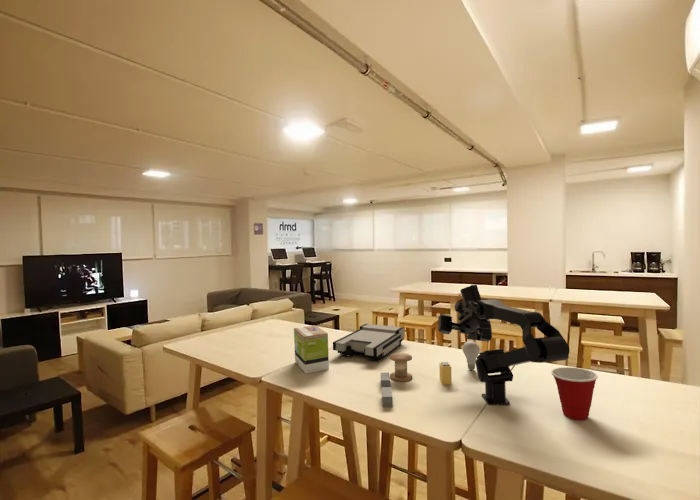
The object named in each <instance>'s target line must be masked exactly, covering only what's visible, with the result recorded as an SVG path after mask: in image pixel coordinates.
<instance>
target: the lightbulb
mask: <svg viewBox="0 0 700 500" xmlns="http://www.w3.org/2000/svg"><path fill="white" fill-rule="evenodd" d="M480 350H481V349H480V346H479V344H478V343H477V342H475V341H474V340H468V341H465V342H464V343H463V345H462V352H463V354H464V356H465V359H466V363H467V369H468V370H470V371H474V370H475V369H476V360H477V356H478V355H480V354H479V352H481V351H480Z"/></svg>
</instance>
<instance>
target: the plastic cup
mask: <svg viewBox="0 0 700 500" xmlns="http://www.w3.org/2000/svg"><path fill="white" fill-rule="evenodd" d="M550 372H551V375H552V376H553V378H554V381H555V384H556V386H557V387H556V388H557V393H558V397H559V401H560V405H561V409H562V413H563V415H564V416H565V417H567V418H569V419H571V420H575V421H586V420H588V419H589V415H590V411H591V407H592V402H593V396H594V390H595V386H596V381H597V379H598V377H599V376H598V374H597V373H596V372H594V371H592V370H589V369H585V368H580V367H569V366H568V367H564V366H563V367H556V368H553V369H551V371H550Z"/></svg>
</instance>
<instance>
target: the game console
mask: <svg viewBox="0 0 700 500" xmlns="http://www.w3.org/2000/svg"><path fill="white" fill-rule="evenodd" d="M404 338H405V327H403V326H400V327H399V326H392V325H391V326H390V325H383V324H382V325H380V324H373V323H372V324H371V323H365V324H362V325H360V326H359V329H357V330H356V331H353V332H351V333H349V334H347V335H344V336H343V337H340V338H339V339H337V340H334V341H333V342H332V351H337V353H338V354H340V355H341V354H343V355H342V356H346V355H349V356H348V357H354V356H356V355H357V354H359V353H363V354H364V358H369V359H368V360H372V359H374V360H373V361H378V360H381V359H382V360H383V359H385V358H386V357H387V356H389V355H390V354H392V353H393V352H394V351H395V350H396V349H398V348H399V347H400V346H402V342H403V339H404ZM398 346H399V347H398ZM397 347H398V348H397ZM393 350H394V351H393ZM358 352H359V353H358ZM389 353H390V354H389ZM355 354H356V355H355ZM353 355H354V356H353ZM385 356H386V357H385ZM384 357H385V358H384ZM382 360H381V361H382Z"/></svg>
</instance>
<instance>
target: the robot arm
mask: <svg viewBox="0 0 700 500" xmlns="http://www.w3.org/2000/svg"><path fill="white" fill-rule="evenodd" d="M460 295H461V297H462V301H457V302H455V305H454V312H458V313H459V315H458V316H457V319H458V323H457V322H454V321H453V316H451V315H449V314H444V313H441V314H440V315H439V316H438V321H437V323H438V324H437V325H438V326H437V329H438V332H439V333H442V335H450V333H452V330H453V331H458V332H459V333H460V334H463V335H466V339H467V340H469V341H478V342H486V343H487V342H490V341H491V340H492V339H493V332H492V331H493V330H492V325H491V321H490V320H495V319H496V320H499V321H504V322H507V323H510V324H513V325H517V326H519V327H520V328H521V330H522V342H523V344H524V346H523V347H519V348H516V349H511V350H509V351H504V348H500V349H499V348H498V349H490V350H485V351H482V352H481V351H480V352H479V354H478V356H477V358H476V363H475V369H476V372H477V377H478V379H479V382H481V383H484V386H485V387H484V391H485V392H484V393H481V396H482V398H483V399H484V401H485V402H486V403H487V404H488V405H511V402H510V400H509V399H508V398H507V395H506V389H507V387H506V383H507V382H513V379H514V373H513V372H512V370H511V368H510V367H513V366H514V367H515V366H519V365H522V364H525V363H537V364H538V363H539V364H541V363H543V364H544V363H550V362H559V361H560V362H561V361H566V360H568V359H569V358H570V356H569V355H570V345H569V344H568V343H567V341H566V340H565V338H564V337H563V335H562V333H561V332H560V331H559V330H558V329H557V327H555V326H553V325H552V324H551V323H549V322H548V321H546V319H545V318H544V316H543V314H541V313H540V312H537V311H531V310H525V309H522V308H521V309H520V308H518V307H517V308H516V307H512V306H509V305H508V306H507V305H505V303H504V302H503V301H501V300H499V299H490V298H482V297H481V294H480V291H479V287H478V285H477V284H470V286H466V287H464V288H461V289H460ZM532 328H536V329H537V330H538V331H539V332H540V333H541V334H543V335H544V337H534V336H533V334H532Z"/></svg>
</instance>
